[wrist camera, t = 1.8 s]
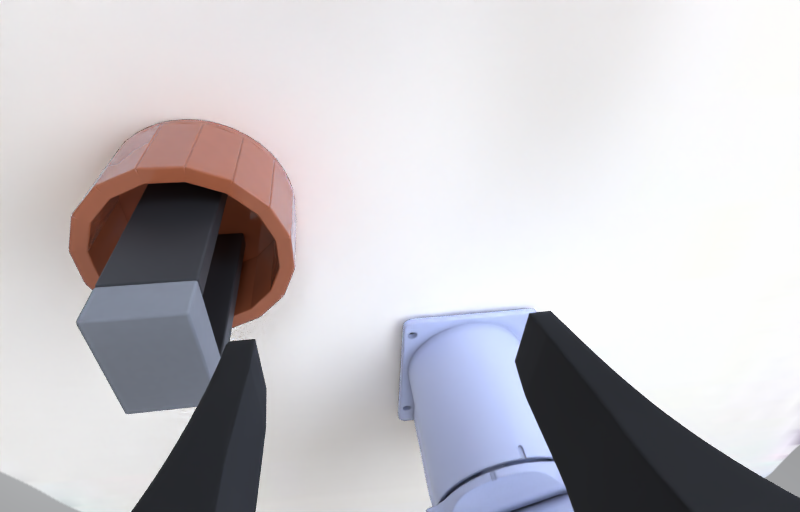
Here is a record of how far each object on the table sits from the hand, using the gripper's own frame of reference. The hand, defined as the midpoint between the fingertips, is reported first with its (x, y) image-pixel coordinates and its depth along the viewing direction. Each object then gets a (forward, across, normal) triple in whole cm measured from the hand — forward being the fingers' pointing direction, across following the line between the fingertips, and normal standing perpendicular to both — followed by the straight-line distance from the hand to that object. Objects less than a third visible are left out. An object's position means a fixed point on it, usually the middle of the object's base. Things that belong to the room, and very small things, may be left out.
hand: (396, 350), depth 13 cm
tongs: (+10, +7, +2) cm, 12 cm away
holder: (+10, +7, +2) cm, 12 cm away
